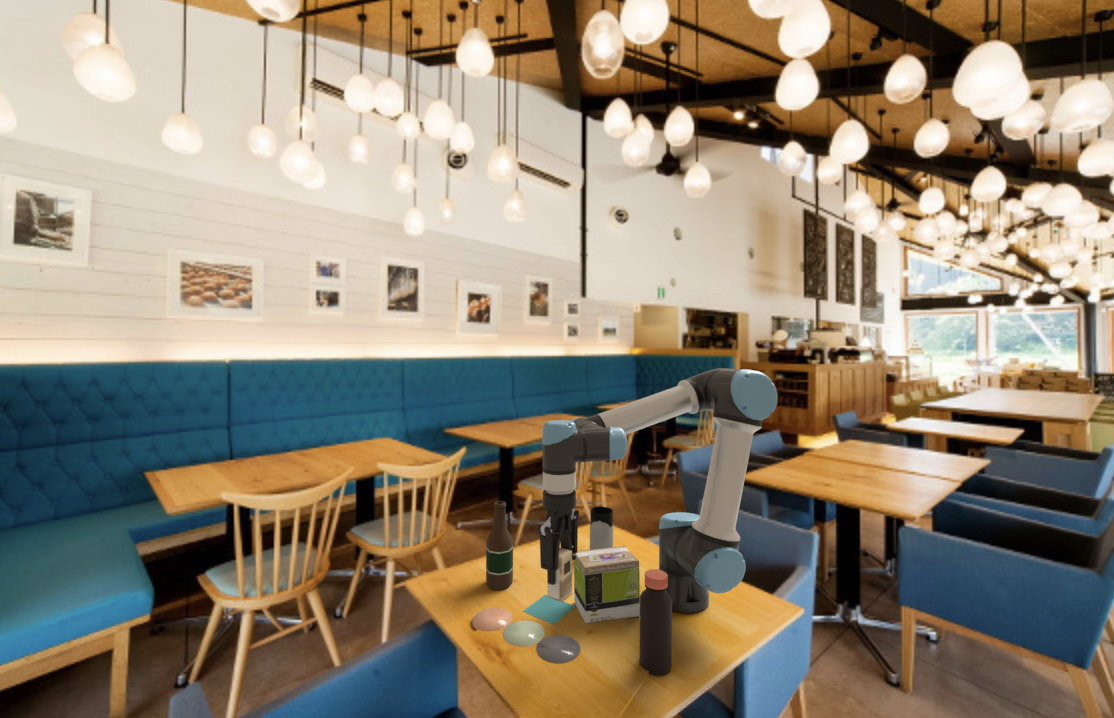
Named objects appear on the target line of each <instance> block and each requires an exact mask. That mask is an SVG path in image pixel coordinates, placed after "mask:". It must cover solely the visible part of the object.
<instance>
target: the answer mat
mask: <svg viewBox="0 0 1114 718" xmlns="http://www.w3.org/2000/svg"><path fill="white" fill-rule="evenodd" d="M574 608H576V605H574V604H571V603H569V602H566V601H563V602H560V601H557V600H554V599H552V598H549V597H548V594H544V595H543V596H541V597H540V598H539V599H537V600H535V602H533V603H532V604H530V605H528V606H527V607H526V608H524V610H522V612H523V613H526V614H528V615H530V616H533V617H535V618H538V619H539V620H542V621H545V622H548V623H549V624H551V625H555V624H557V623H558V622H559V621H560V620H562V619H563V618H564V617H565V616H566V615H567V614H568V613H570V612H571V611H572V610H574Z"/></svg>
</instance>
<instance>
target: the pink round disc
mask: <svg viewBox="0 0 1114 718" xmlns="http://www.w3.org/2000/svg"><path fill="white" fill-rule="evenodd" d="M513 620H514V619H513V614H512V613H511V612H510V611H509V610H508V609H505V608H501V607H489V608H485V609H482V610H480V611H478V612H476V614H475V615H473V617H472V621H471V622H472V627H473V628H474V629H475V630H476V631H477V630H481V631H484V632H496V631H497V632H498V631H501V630H504V629H505V628H506V627H507V626H508V625H510V624H512V623H513Z"/></svg>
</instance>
